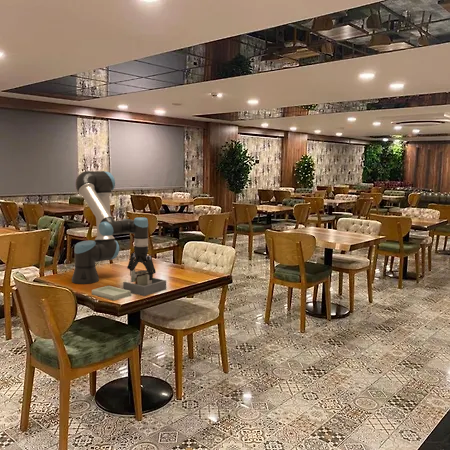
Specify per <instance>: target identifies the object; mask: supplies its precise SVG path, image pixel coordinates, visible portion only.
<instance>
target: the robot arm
mask: <svg viewBox="0 0 450 450" xmlns="http://www.w3.org/2000/svg"><path fill="white" fill-rule="evenodd" d="M115 187H116V180H115V177H114V175H113V174H112V172H109V171H104V170H95V171H93V170H87V171H83V172H81V173H79V174H78V176H77V177H76V180H75V189H76V191H77V192H78V194H79V195H80V196H81V197H83V199H84V201H85V203H86V204H87V206H88V208H89V209H90V210H91V212H92V214H93V215H94V217H95V221H96V223H95V224H96V237H95V239H94V240H90V239H88V240H83V241H79V242H77V243H76V244H74V270H73V273H72V277H71V282H72V283H73V284H78V285H85V284H95V283H97V282H99V279H100V278H99V274H98V271H97V268H96V267H97V266H96V263H97V262H98V263H99V262H103V261H112V260H115V259H116V258H117V257H118V256H119V252H120V245H119V243H118V241H117V240H116V239H115V237H114V236H116V235H123V234H133V236H134V237H133V240H134V241H133V243H134V244H133V245H134V247H133V250H134V251H133V253H132V252H131V253H130V259H129V261H128V265H127V266H126V267H127V268H126V269H127V270H129V271H130V272H129V275H130V283H135V278H134V273H135V272H136V270H135V269H136V267H137V265H138V264H139V263H141V264H143V265H144V268H145V270H147V271H148V273H149V274H148V285H150V284H152V280H153V278H154V277H153V276H154V274H156V273H157V272H156V268H155V265H154V261H153V257H152V255H148V253H149V246H148V245H149V221H148V218H147V217H141V216H140V217H135V218H134V219H130V218H129V219H127V218H125V219H122V220H115V219H114V218H113V216H112V215H111V204H110V202H111V201H110V196H111V194H112V193H113V192H112V191H113V190H114V189H115Z"/></svg>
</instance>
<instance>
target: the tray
mask: <svg viewBox="0 0 450 450" xmlns="http://www.w3.org/2000/svg"><path fill="white" fill-rule="evenodd" d="M91 295H92V296H95V297H100V298H103V299H107V300H111V301H117V300H121V299H124V298H128V297H131V296H132V293H131V291H129V290H125V289H123V288H119V287H116V286H112V285H106V286H101V287H97V288H94V289H91Z"/></svg>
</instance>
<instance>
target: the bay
mask: <svg viewBox="0 0 450 450" xmlns="http://www.w3.org/2000/svg"><path fill="white" fill-rule="evenodd" d="M122 289H125V290H129V291H131V294H135V295H139V296H142V297H147V296H148V295H152V294H155V293H158V292H161V291H165V290H167V280H166V279H161V278H157V277H153V280H152V284H150V285H146V286H141V285H137V284H135V283H134V282H129V281H123V282H122Z"/></svg>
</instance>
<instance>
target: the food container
mask: <svg viewBox="0 0 450 450" xmlns="http://www.w3.org/2000/svg"><path fill="white" fill-rule="evenodd" d="M148 274H149V273H148V271H147V270H146V269H143V270H137V271H136V270H135V273H134V278H135V282H134V284H137V285H141V286H146V285H148Z"/></svg>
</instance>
